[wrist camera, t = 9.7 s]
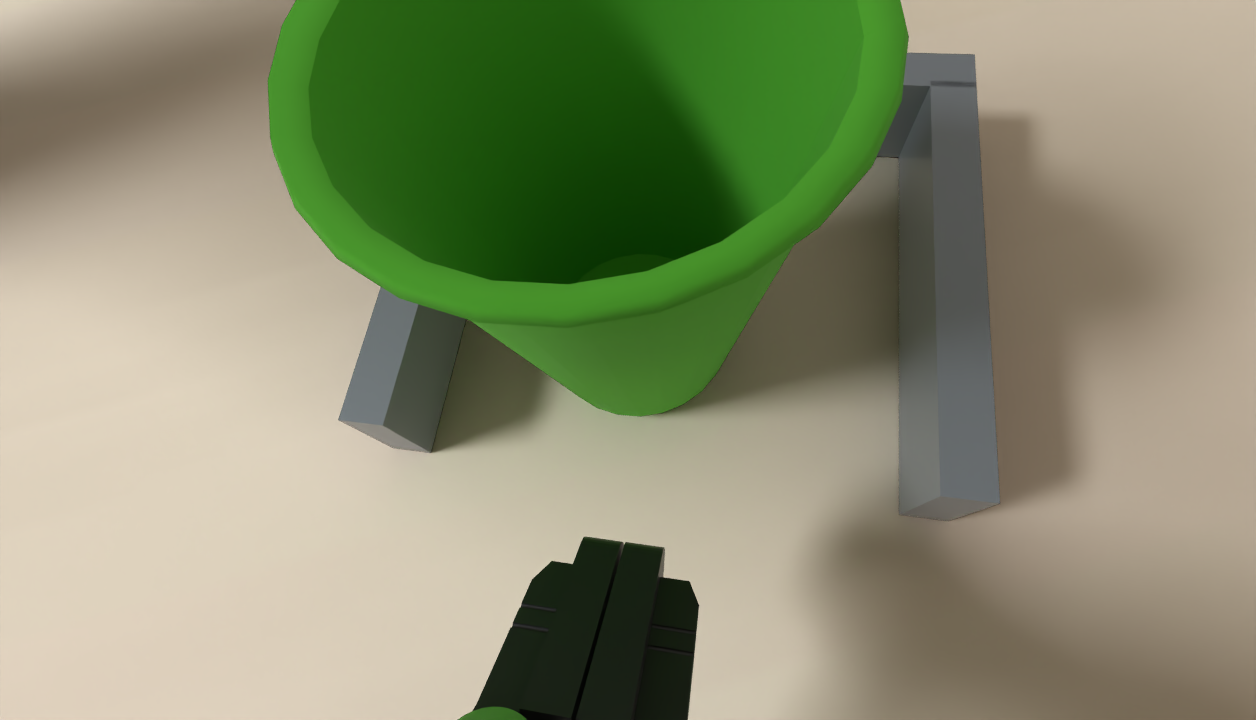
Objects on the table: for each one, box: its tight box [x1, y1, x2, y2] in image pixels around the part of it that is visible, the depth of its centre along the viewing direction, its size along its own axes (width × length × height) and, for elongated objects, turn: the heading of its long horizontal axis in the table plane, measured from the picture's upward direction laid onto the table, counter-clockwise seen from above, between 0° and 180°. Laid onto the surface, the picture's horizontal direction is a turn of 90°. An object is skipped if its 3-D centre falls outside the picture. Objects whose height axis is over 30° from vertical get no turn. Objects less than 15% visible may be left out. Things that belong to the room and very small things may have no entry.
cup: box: [268, 0, 909, 416], centre depth 14 cm, size 9×9×11 cm
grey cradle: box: [338, 53, 1000, 521], centre depth 18 cm, size 15×13×3 cm
